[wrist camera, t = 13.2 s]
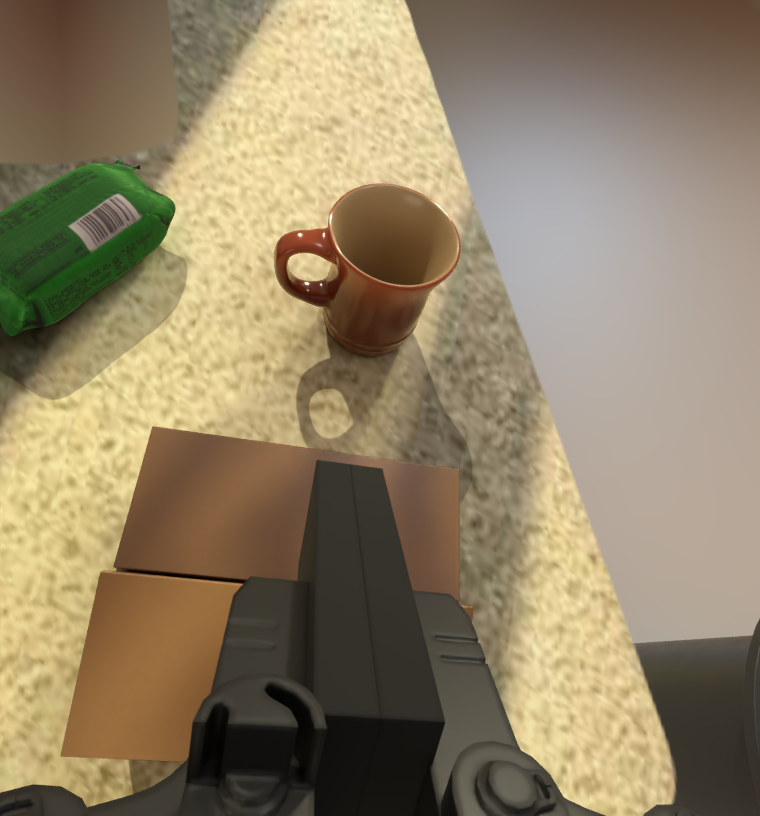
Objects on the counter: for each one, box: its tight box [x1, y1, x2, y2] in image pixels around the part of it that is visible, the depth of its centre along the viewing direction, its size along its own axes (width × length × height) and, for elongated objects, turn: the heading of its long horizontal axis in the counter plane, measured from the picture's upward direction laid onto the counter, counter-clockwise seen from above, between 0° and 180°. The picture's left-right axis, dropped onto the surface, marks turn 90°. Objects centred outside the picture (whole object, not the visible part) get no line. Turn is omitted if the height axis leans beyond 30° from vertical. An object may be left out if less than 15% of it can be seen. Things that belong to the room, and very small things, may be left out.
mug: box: [274, 184, 461, 356], centre depth 39 cm, size 12×9×10 cm
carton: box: [114, 426, 460, 602], centre depth 28 cm, size 15×13×11 cm
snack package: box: [0, 160, 175, 337], centre depth 38 cm, size 7×16×5 cm, turn 144°
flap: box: [61, 570, 473, 762], centre depth 21 cm, size 15×6×1 cm, turn 85°
